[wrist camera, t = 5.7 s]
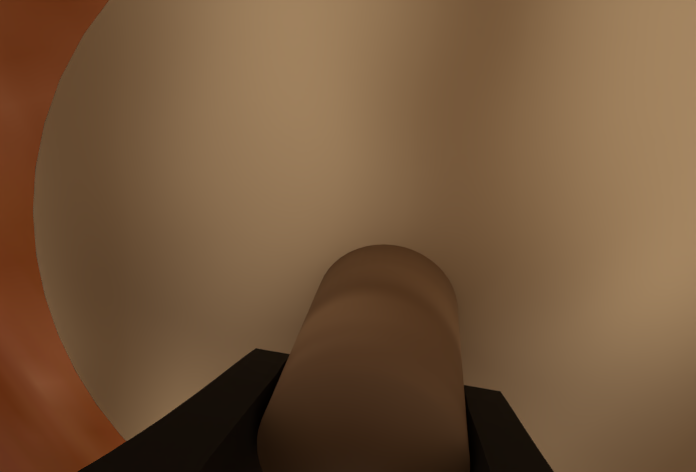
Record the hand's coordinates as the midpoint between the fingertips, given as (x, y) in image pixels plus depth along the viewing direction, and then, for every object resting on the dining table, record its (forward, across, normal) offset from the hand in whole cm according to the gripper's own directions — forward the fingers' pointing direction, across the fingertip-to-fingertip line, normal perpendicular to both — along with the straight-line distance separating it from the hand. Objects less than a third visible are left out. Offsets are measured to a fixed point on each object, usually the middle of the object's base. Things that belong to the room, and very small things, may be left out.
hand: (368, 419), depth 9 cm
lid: (+3, 0, -1) cm, 3 cm away
